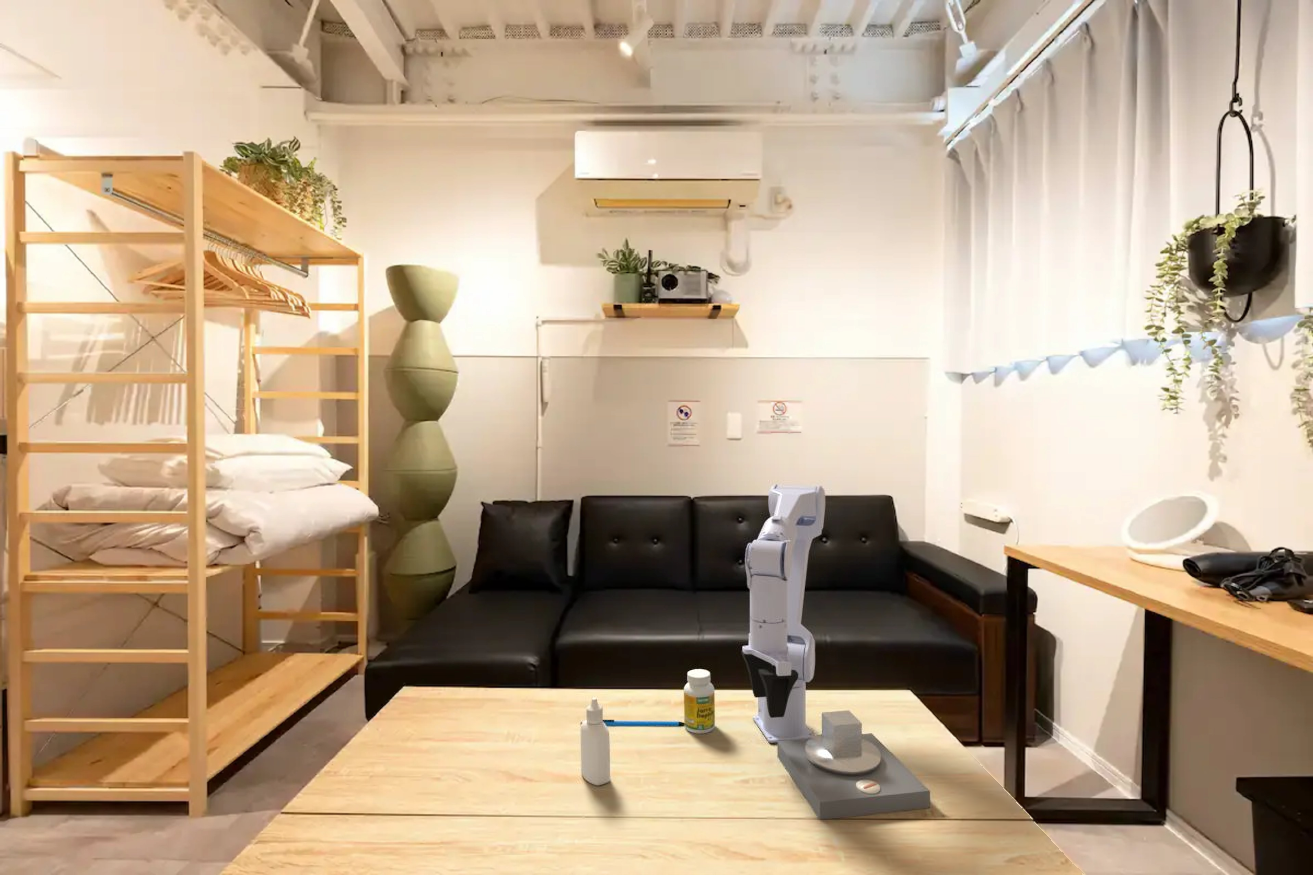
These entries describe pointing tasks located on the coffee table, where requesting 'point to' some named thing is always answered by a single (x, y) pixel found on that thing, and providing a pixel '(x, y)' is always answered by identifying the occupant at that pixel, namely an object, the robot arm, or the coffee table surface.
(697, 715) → the supplement bottle
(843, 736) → the block
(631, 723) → the pen
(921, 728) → the coffee table surface
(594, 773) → the eye dropper bottle
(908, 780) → the scale base
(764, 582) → the robot arm
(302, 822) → the coffee table surface
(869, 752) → the pan
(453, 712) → the coffee table surface
